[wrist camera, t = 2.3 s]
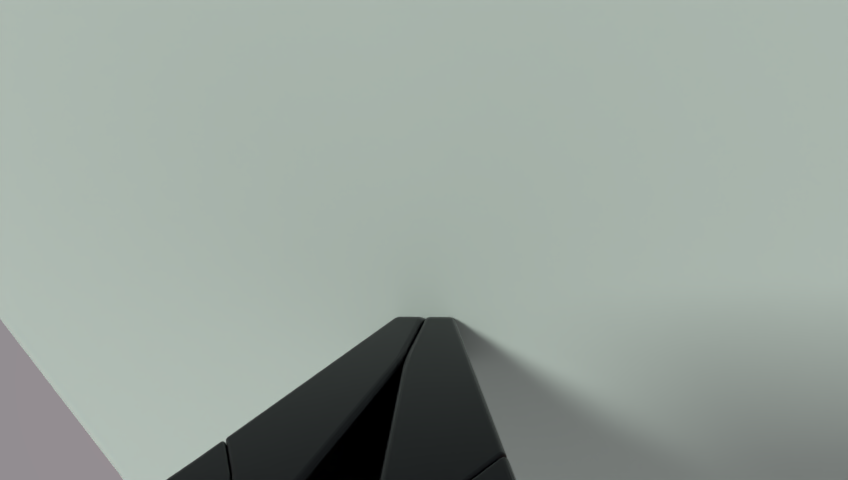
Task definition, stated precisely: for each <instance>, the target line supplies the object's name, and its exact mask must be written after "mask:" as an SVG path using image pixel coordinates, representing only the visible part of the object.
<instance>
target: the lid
mask: <svg viewBox="0 0 848 480" xmlns="http://www.w3.org/2000/svg"><path fill="white" fill-rule="evenodd" d="M400 316H401V317H422V318H424V320H425V319H426V318H428V317H452V318H454V320H455V321H456V324H457V327H458V329H459V332H460V334H461V337H462V340H463V342H464V345H465V348H466V350H467V353H468V355H469V358H470V361H471V363H472V366H473V369H474V371H475V374H476V376H477V379H478V382H479V384H480V387H481V390H482V392H483V395H484V397H485V400H486V403H487V405H488V408H489V411H490V413H491V416H492V418H493V421H494V424H495V426H496V429H497V432H498V434H499V437H500V439H501V442H502V445H503V447H504V450H505V453H506V455H507V459H508V460H509V462H510V465H511V467H512V470H513V473H514V475H515V478H516V480H848V0H0V319H1V321H2V322H3V323H4V324H5V326H6V327H7V328H8V329H9V331H10V332H11V333H12V335H13V336H14V337H15V339H16V340H17V341H18V343H19V344H20V345H21V347H22V348H23V349H24V350H25V352H26V353H27V354H28V356H29V357H30V358H31V359H32V361H33V362H34V363H35V365H36V366H37V367H38V369H39V370H40V371H41V373H42V374H43V375H44V377H45V378H46V379H47V380H48V382H49V383H50V384H51V386H52V387H53V388H54V390H55V391H56V392H57V393H58V395H59V396H60V397H61V399H62V400H63V401H64V403H65V404H66V405H67V406H68V408H69V409H70V410H71V412H72V413H73V414H74V415H75V417H76V418H77V420H78V421H79V422H80V423H81V425H82V426H83V427H84V429H85V430H86V431H87V433H88V434H89V435H90V436H91V438H92V439H93V440H94V442H95V443H96V444H97V446H98V447H99V448H100V449H101V451H102V452H103V453H104V455H105V456H106V457H107V459H108V460H109V461H110V462H111V464H112V465H113V466H114V468H115V469H116V470H117V472H118V473H119V474H120V475H121V477H122V478H123V479H124V480H166V479H168V478H169V477H171V476H172V475H173V474H175V473H176V472H178V471H179V470H181V469H182V468H184V467H185V466H187V465H188V464H190V463H191V462H193V461H194V460H196V459H197V458H198V457H200V456H201V455H203V454H204V453H205V452H207V451H208V450H210V449H211V448H212V447H214V446H215V445H217V444H218V443H220V442H221V441H224V442H225V443H226V438H227V437H228V436H230V435H231V434H232V433H234V432H235V431H237V430H238V429H239V428H241V427H242V426H244V425H245V424H247V423H248V422H249V421H251V420H252V419H254V418H255V417H256V416H258V415H259V414H261V413H262V412H263V411H265V410H266V409H268V408H269V407H270V406H272V405H273V404H275V403H276V402H277V401H279V400H280V399H282V398H283V397H285V396H286V395H287V394H289V393H290V392H292V391H293V390H294V389H296V388H297V387H299V386H300V385H301V384H303V383H304V382H306V381H307V380H308V379H310V378H311V377H313V376H314V375H315V374H317V373H318V372H320V371H321V370H322V369H324V368H325V367H327V366H328V365H330V364H331V363H332V362H334V361H335V360H337V359H338V358H339V357H341V356H342V355H344V354H345V353H346V352H348V351H349V350H351V349H352V348H353V347H355V346H356V345H358V344H359V343H360V342H362V341H363V340H365V339H366V338H367V337H369V336H370V335H372V334H373V333H375V332H376V331H377V330H379V329H380V328H382V327H383V326H384V325H386V324H387V323H389V322H390V321H391V320H393V319H394V318H396V317H400Z"/></svg>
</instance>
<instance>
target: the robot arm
mask: <svg viewBox="0 0 848 480" xmlns="http://www.w3.org/2000/svg"><path fill="white" fill-rule="evenodd" d="M166 480H516V478H515V475H514V473H513V470H512V467H511V465H510V462H509V460H508V459H507V455H506V453H505V450H504V447H503V445H502V442H501V439H500V437H499V434H498V432H497V429H496V426H495V424H494V421H493V418H492V416H491V413H490V411H489V408H488V405H487V403H486V400H485V397H484V395H483V392H482V390H481V387H480V384H479V382H478V379H477V376H476V374H475V371H474V369H473V366H472V363H471V361H470V358H469V355H468V353H467V350H466V348H465V345H464V342H463V340H462V337H461V334H460V332H459V329H458V327H457V324H456V321H455V320H454V318H452V317H428V318H426V319H425V320H424V318H422V317H401V316H400V317H396V318H394V319H393V320H391V321H390V322H389V323H387V324H386V325H384V326H383V327H382V328H380V329H379V330H377V331H376V332H375V333H373V334H372V335H370V336H369V337H367V338H366V339H365V340H363V341H362V342H360V343H359V344H358V345H356V346H355V347H353V348H352V349H351V350H349V351H348V352H346V353H345V354H344V355H342V356H341V357H339V358H338V359H337V360H335V361H334V362H332V363H331V364H330V365H328V366H327V367H325V368H324V369H322V370H321V371H320V372H318V373H317V374H315V375H314V376H313V377H311V378H310V379H308V380H307V381H306V382H304V383H303V384H301V385H300V386H299V387H297V388H296V389H294V390H293V391H292V392H290V393H289V394H287V395H286V396H285V397H283V398H282V399H280V400H279V401H277V402H276V403H275V404H273V405H272V406H270V407H269V408H268V409H266V410H265V411H263V412H262V413H261V414H259V415H258V416H256V417H255V418H254V419H252V420H251V421H249V422H248V423H247V424H245V425H244V426H242V427H241V428H239V429H238V430H237V431H235V432H234V433H232V434H231V435H230V436H228V437H227V438H226V443H225V442H224V441H221V442H220V443H218V444H217V445H215V446H214V447H212V448H211V449H210V450H208V451H207V452H205V453H204V454H203V455H201V456H200V457H198V458H197V459H196V460H194V461H193V462H191V463H190V464H188V465H187V466H185V467H184V468H182V469H181V470H179V471H178V472H176V473H175V474H173V475H172V476H171V477H169V478H168V479H166Z"/></svg>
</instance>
